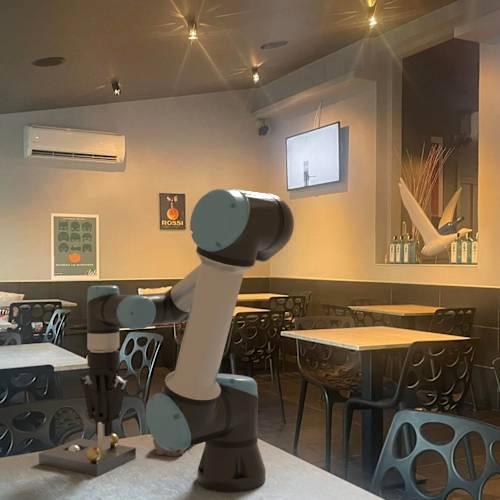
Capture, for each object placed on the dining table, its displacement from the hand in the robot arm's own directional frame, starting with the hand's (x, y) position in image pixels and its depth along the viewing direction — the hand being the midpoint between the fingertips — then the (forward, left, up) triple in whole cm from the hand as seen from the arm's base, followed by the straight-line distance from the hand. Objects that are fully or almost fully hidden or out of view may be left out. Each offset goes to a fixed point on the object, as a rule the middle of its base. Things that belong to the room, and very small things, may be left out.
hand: (104, 449), depth 146 cm
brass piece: (-1, +5, 0) cm, 5 cm away
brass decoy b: (+2, -5, 0) cm, 6 cm away
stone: (-8, -18, -4) cm, 20 cm away
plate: (+5, 0, -4) cm, 6 cm away
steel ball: (+10, 0, -2) cm, 10 cm away
